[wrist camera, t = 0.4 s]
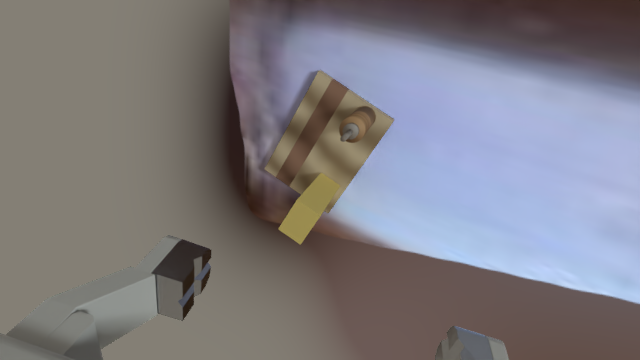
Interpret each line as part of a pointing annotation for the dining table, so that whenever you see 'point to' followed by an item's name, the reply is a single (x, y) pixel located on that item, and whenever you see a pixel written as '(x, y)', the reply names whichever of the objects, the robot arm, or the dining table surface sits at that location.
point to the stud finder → (309, 208)
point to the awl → (357, 124)
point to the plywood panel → (324, 138)
